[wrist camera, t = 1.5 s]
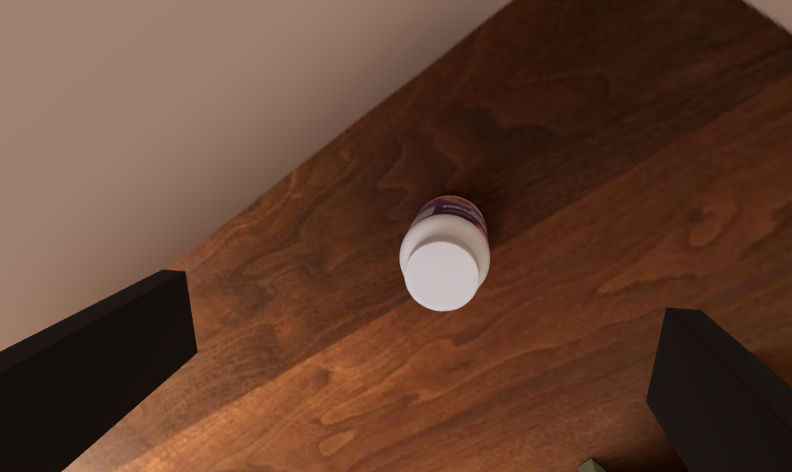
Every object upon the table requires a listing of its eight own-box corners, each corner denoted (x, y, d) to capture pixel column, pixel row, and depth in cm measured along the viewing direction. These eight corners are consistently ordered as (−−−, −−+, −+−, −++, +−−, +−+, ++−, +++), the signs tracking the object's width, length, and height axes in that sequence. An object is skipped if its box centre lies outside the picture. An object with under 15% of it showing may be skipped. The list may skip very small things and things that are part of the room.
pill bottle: (501, 227, 30) (516, 277, 21) (451, 276, 32) (445, 342, 23) (446, 178, 30) (436, 207, 21) (399, 231, 31) (370, 278, 22)
